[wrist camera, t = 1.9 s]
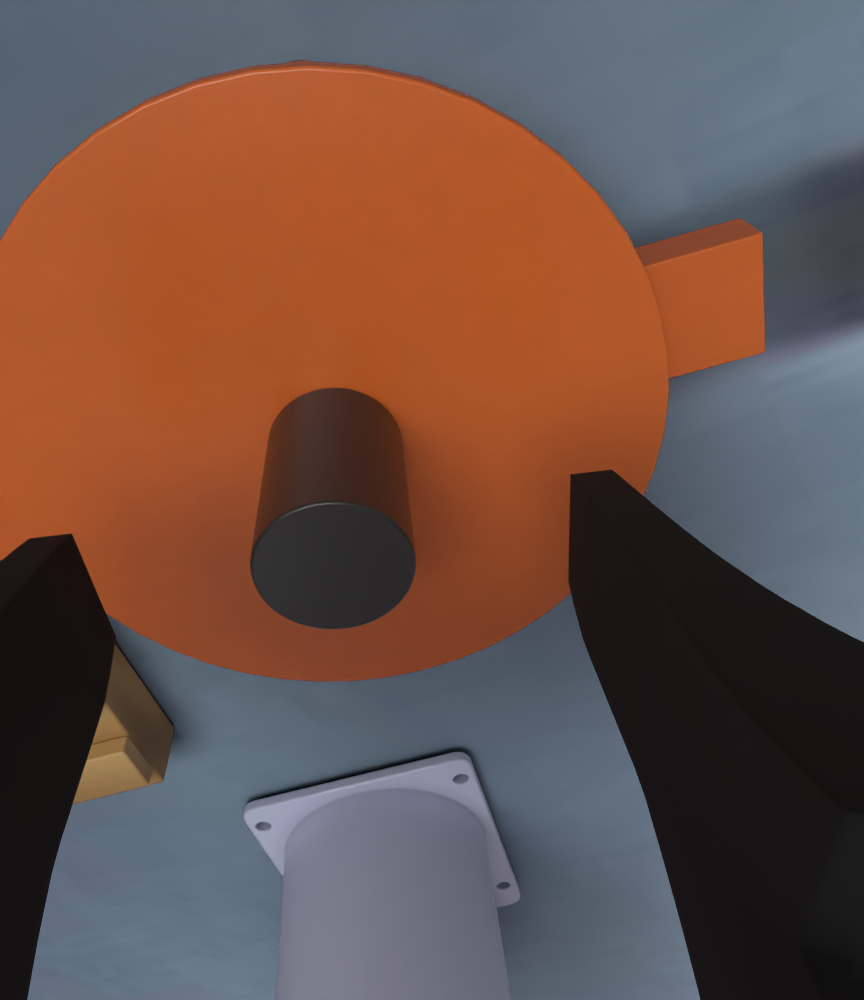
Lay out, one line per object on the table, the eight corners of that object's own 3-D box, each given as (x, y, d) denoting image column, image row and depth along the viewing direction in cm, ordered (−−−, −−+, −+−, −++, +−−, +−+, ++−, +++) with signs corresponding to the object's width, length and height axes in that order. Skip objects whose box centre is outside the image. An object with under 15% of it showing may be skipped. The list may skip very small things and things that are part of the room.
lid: (676, 570, 19) (760, 732, 15) (174, 698, 19) (133, 881, 16) (607, -54, 12) (733, -51, 8) (-168, 188, 13) (-389, 297, 9)
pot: (709, 442, 21) (783, 546, 18) (115, 600, 22) (71, 727, 19) (672, -61, 15) (778, -60, 11) (-153, 197, 16) (-297, 272, 12)
